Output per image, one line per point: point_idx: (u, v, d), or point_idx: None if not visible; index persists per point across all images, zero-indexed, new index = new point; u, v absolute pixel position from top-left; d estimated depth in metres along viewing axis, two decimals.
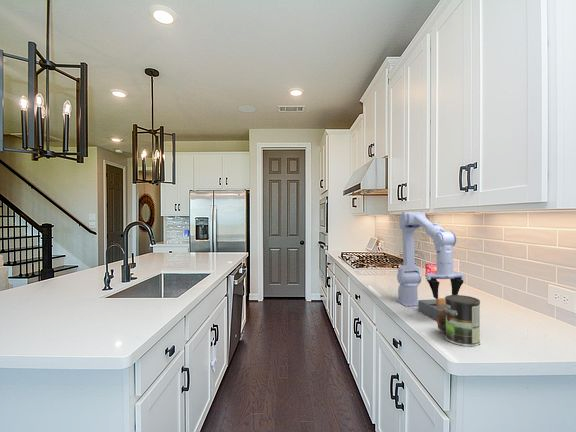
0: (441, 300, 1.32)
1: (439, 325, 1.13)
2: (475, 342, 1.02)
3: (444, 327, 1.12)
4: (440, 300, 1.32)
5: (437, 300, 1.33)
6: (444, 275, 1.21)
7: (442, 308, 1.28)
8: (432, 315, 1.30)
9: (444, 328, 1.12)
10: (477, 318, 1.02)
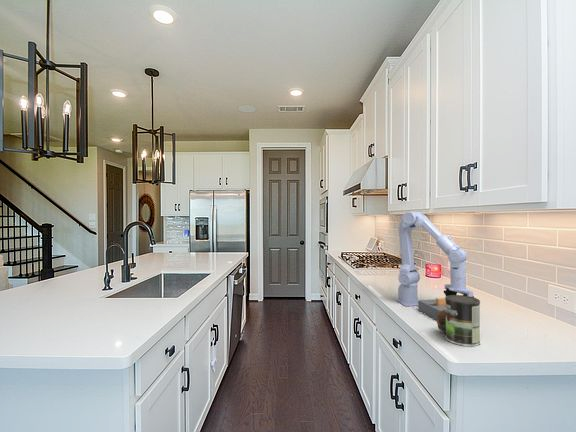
0: (441, 300, 1.32)
1: (439, 325, 1.13)
2: (475, 342, 1.02)
3: (444, 327, 1.12)
4: (440, 300, 1.32)
5: (437, 300, 1.33)
6: (450, 287, 1.35)
7: (442, 308, 1.28)
8: (432, 315, 1.30)
9: (444, 328, 1.12)
10: (477, 318, 1.02)
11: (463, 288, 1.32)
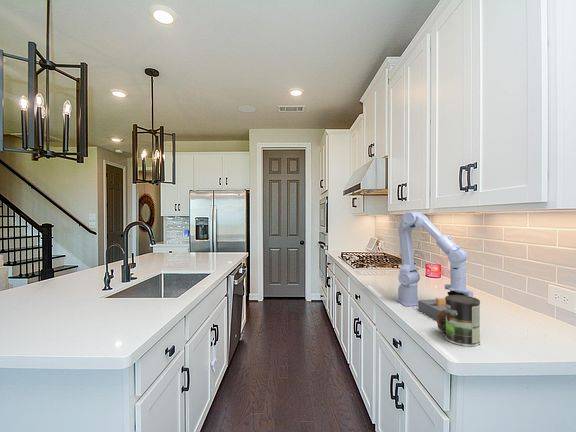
0: (441, 300, 1.32)
1: (439, 325, 1.13)
2: (475, 342, 1.02)
3: (444, 327, 1.12)
4: (440, 300, 1.32)
5: (437, 300, 1.33)
6: (450, 287, 1.35)
7: (442, 308, 1.28)
8: (432, 315, 1.30)
9: (444, 328, 1.12)
10: (477, 318, 1.02)
11: (463, 288, 1.32)
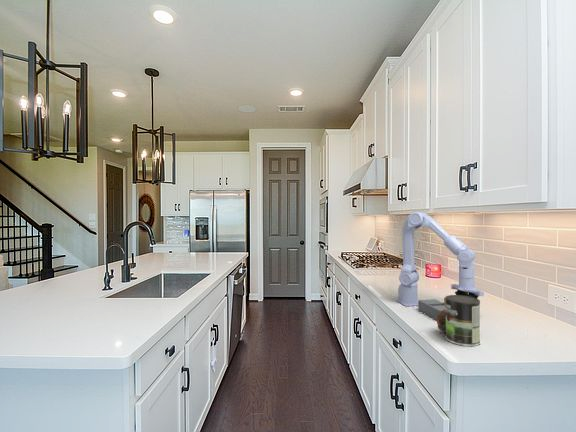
0: None
1: (439, 325, 1.13)
2: (475, 342, 1.02)
3: (444, 327, 1.12)
4: None
5: (445, 300, 1.33)
6: (458, 287, 1.35)
7: (442, 308, 1.28)
8: (432, 315, 1.30)
9: (444, 328, 1.12)
10: (477, 318, 1.02)
11: (472, 288, 1.32)
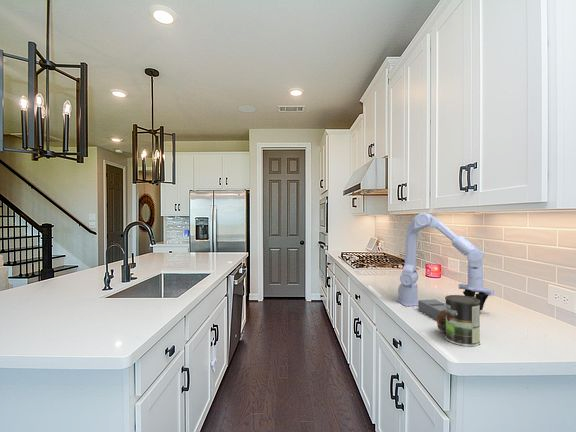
0: None
1: (439, 325, 1.13)
2: (475, 342, 1.02)
3: (444, 327, 1.12)
4: None
5: None
6: (467, 287, 1.36)
7: (442, 308, 1.28)
8: (432, 315, 1.30)
9: (444, 328, 1.12)
10: (477, 318, 1.02)
11: (482, 287, 1.33)
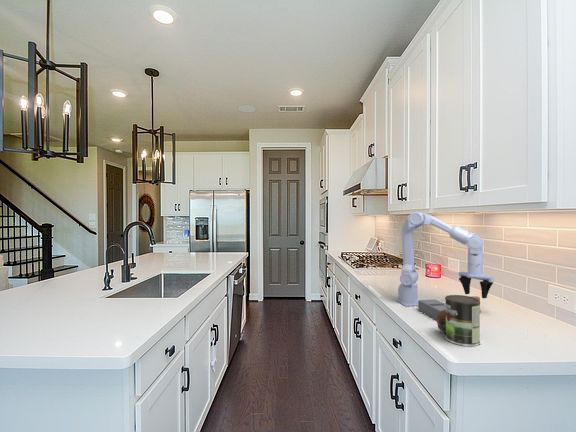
0: None
1: (439, 325, 1.13)
2: (475, 342, 1.02)
3: (444, 327, 1.12)
4: None
5: None
6: (467, 274, 1.36)
7: (442, 308, 1.28)
8: (432, 315, 1.30)
9: (444, 328, 1.12)
10: (477, 318, 1.02)
11: (482, 274, 1.33)
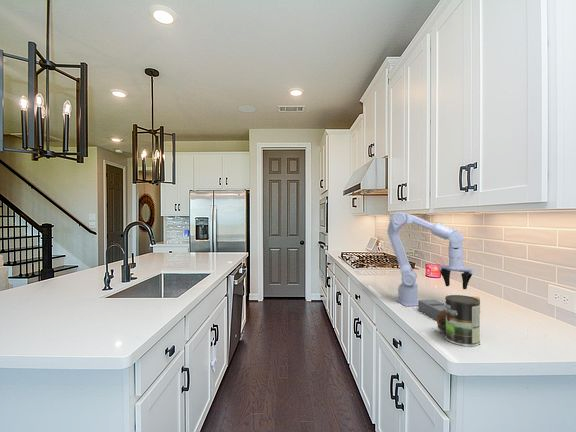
0: None
1: (439, 325, 1.13)
2: (475, 342, 1.02)
3: (444, 327, 1.12)
4: None
5: None
6: (449, 267, 1.43)
7: (442, 308, 1.28)
8: (432, 315, 1.30)
9: (444, 328, 1.12)
10: (477, 318, 1.02)
11: (462, 266, 1.41)
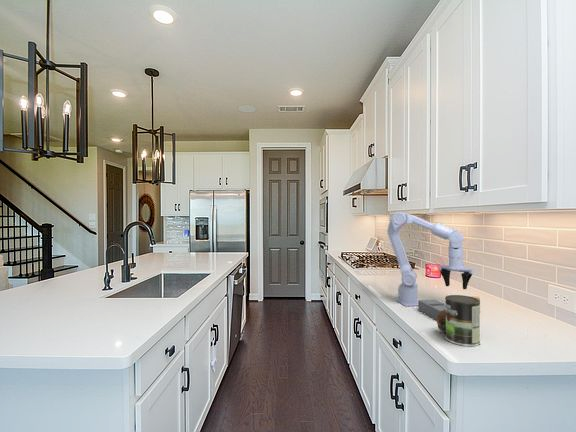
0: None
1: (439, 325, 1.13)
2: (475, 342, 1.02)
3: (444, 327, 1.12)
4: None
5: None
6: (449, 267, 1.43)
7: (442, 308, 1.28)
8: (432, 315, 1.30)
9: (444, 328, 1.12)
10: (477, 318, 1.02)
11: (462, 266, 1.41)
